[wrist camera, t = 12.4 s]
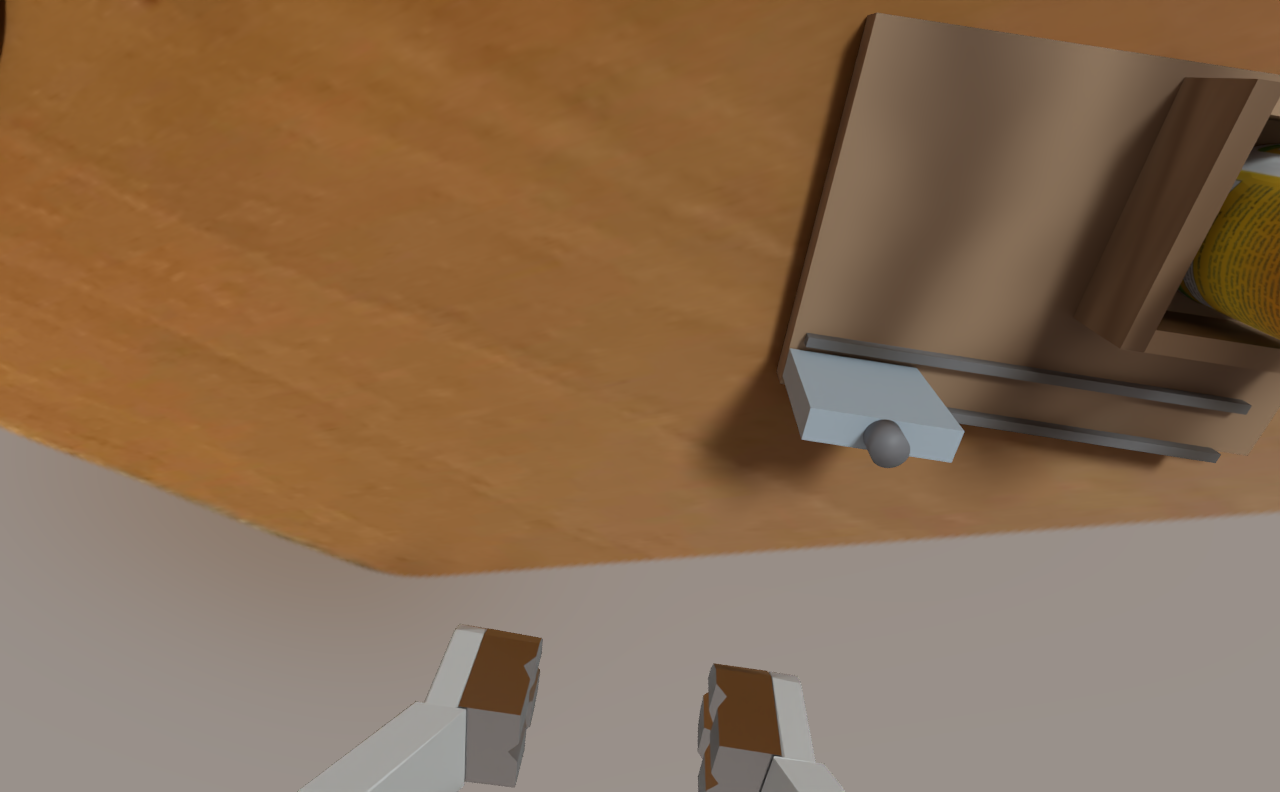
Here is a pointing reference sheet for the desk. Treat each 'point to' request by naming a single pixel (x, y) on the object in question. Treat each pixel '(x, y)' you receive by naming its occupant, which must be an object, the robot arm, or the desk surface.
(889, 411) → the cover panel
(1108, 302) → the board
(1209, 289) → the supplement bottle
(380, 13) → the desk surface
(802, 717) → the robot arm
